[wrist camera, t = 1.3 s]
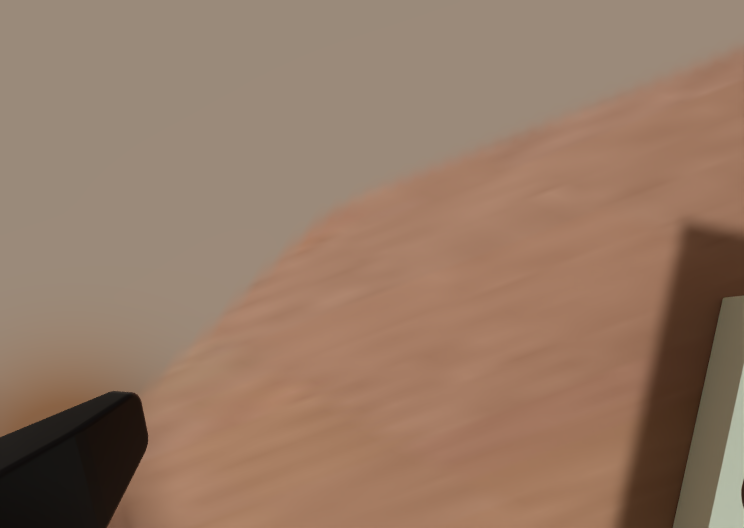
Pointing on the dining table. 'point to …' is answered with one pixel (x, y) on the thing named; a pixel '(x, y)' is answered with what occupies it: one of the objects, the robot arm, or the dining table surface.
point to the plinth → (718, 433)
